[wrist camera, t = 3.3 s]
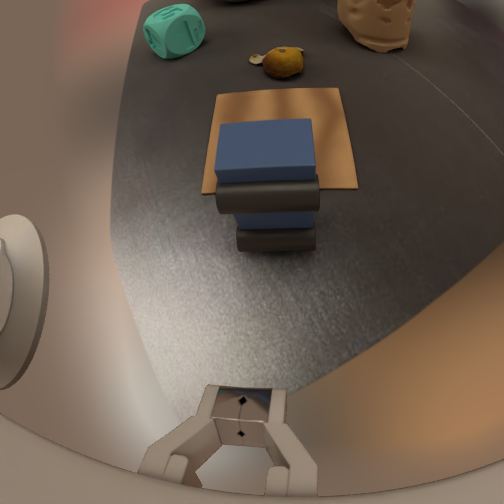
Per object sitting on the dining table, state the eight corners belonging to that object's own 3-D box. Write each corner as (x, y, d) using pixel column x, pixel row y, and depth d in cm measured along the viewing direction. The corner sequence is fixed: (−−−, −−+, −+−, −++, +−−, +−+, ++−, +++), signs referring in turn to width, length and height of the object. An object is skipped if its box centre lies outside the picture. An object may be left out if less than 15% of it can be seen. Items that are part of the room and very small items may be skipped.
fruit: (298, 48, 40) (297, 29, 36) (319, 75, 37) (319, 54, 33) (247, 59, 40) (243, 40, 37) (261, 87, 37) (257, 66, 34)
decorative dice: (172, 63, 43) (157, 27, 36) (152, 53, 46) (137, 21, 39) (210, 42, 44) (199, 5, 37) (186, 33, 47) (175, 1, 40)
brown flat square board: (202, 194, 32) (201, 193, 32) (217, 96, 38) (217, 94, 37) (357, 189, 29) (358, 187, 29) (338, 89, 35) (338, 87, 35)
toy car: (243, 261, 28) (207, 190, 17) (246, 200, 31) (218, 113, 20) (314, 260, 27) (321, 185, 16) (311, 198, 30) (312, 107, 19)
